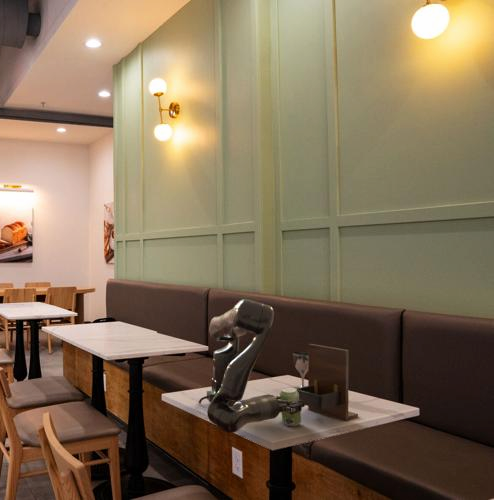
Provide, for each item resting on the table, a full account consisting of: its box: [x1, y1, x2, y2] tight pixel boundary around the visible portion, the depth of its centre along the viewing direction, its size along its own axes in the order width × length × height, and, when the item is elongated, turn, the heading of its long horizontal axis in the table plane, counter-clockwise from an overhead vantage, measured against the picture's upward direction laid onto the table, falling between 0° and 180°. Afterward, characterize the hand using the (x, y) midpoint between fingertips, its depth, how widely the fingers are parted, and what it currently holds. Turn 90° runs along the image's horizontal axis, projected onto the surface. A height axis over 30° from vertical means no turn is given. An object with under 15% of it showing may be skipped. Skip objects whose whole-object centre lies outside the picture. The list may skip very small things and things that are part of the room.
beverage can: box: [279, 386, 302, 427], centre depth 171 cm, size 6×7×12 cm
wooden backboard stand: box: [294, 343, 359, 422], centre depth 180 cm, size 19×15×24 cm
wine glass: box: [292, 351, 308, 388], centre depth 218 cm, size 8×8×15 cm
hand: (295, 400), depth 172 cm, fingers closed on beverage can, 6 cm apart
